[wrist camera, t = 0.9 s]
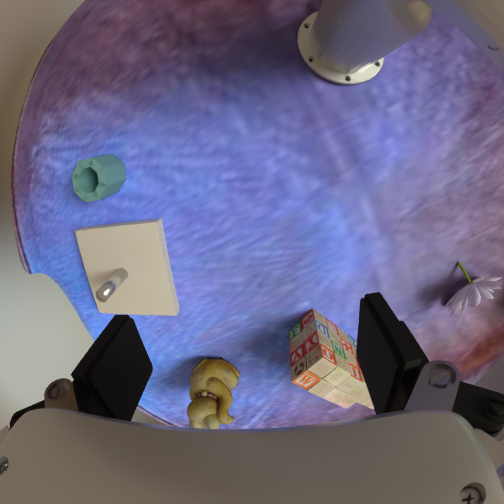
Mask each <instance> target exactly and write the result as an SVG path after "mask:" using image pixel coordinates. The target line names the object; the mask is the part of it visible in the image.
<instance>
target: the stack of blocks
mask: <svg viewBox="0 0 504 504" xmlns="http://www.w3.org/2000/svg"><path fill="white" fill-rule="evenodd" d="M289 342H290V363H291V364H290V366H291V381H292V383H294V384H296V385H298V386H300V387H302V388H304V389H306V390H307V391H308V392H310V393H312V394H315V395H317V396H319V397H322V398H323V399H325V400H327V401H330V402H332V403H335V404H337V405H339V406H342V407H344V408H348V407H350V406H351V405H353V404H354V403H356V402H357V403H359V404H362V405H365V406H367V407H369V408H371V409H374V407H373V404H372V401H371V398H370V395H369V392H368V389H367V386H366V383H365V380H364V377H363V374H362V371H361V369H360V366H359V363H358V360H357V357H356V347H357V341H356V340H355V339H354V338H352V337H351V336H349V335H348V334H346V333H345V332H344V331H342V330H341V329H339V328H338V327H337V326H336V325H334V324H333V323H332V322H330V321H329V320H328V319H326V318H325V317H324V316H322V315H321V314H320V313H318V312H317V311H315V310H314V309H312V310H311V311H310V312H309V313H308V314H306V315H305V316H304V317H303V318H302V319H301V320H300V322H298V323H297V324H296V325H295V326H294V327H293V328H292V329H291V330H290V331H289Z"/></svg>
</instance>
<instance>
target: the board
mask: <svg viewBox="0 0 504 504" xmlns="http://www.w3.org/2000/svg"><path fill="white" fill-rule="evenodd" d="M75 233H76V237H77V241H78V245H79V249H80V253H81V256H82V260H83V264H84V267H85V270H86V274H87V277H88V280H89V283H90V286H91V289H92V292H93V295H94V298H95V301H96V304H97V307H98V310H99V312H100V313H113V314H136V315H177V314H178V312H179V310H180V308H179V303H178V299H177V295H176V290H175V286H174V281H173V276H172V271H171V267H170V262H169V257H168V251H167V246H166V241H165V235H164V229H163V224H162V218H159V219H149V220H140V221H130V222H122V223H113V224H104V225H96V226H88V227H81V228H79V229H78V230H76V231H75Z"/></svg>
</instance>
